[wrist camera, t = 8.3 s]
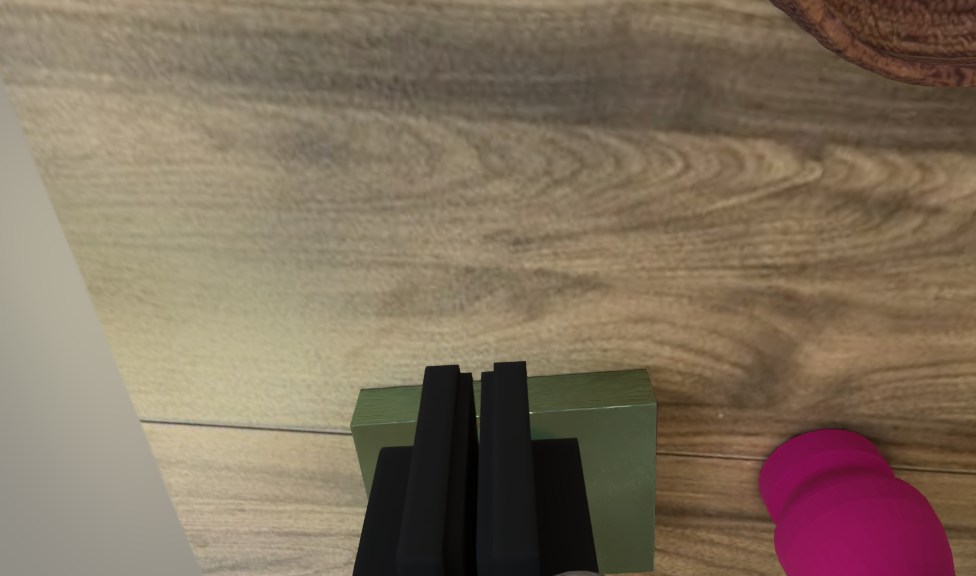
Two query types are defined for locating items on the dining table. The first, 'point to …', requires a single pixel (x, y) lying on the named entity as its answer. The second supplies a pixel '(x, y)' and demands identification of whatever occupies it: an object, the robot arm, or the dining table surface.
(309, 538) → the dining table surface
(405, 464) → the robot arm
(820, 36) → the basket
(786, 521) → the pepper mill
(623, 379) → the green button base
